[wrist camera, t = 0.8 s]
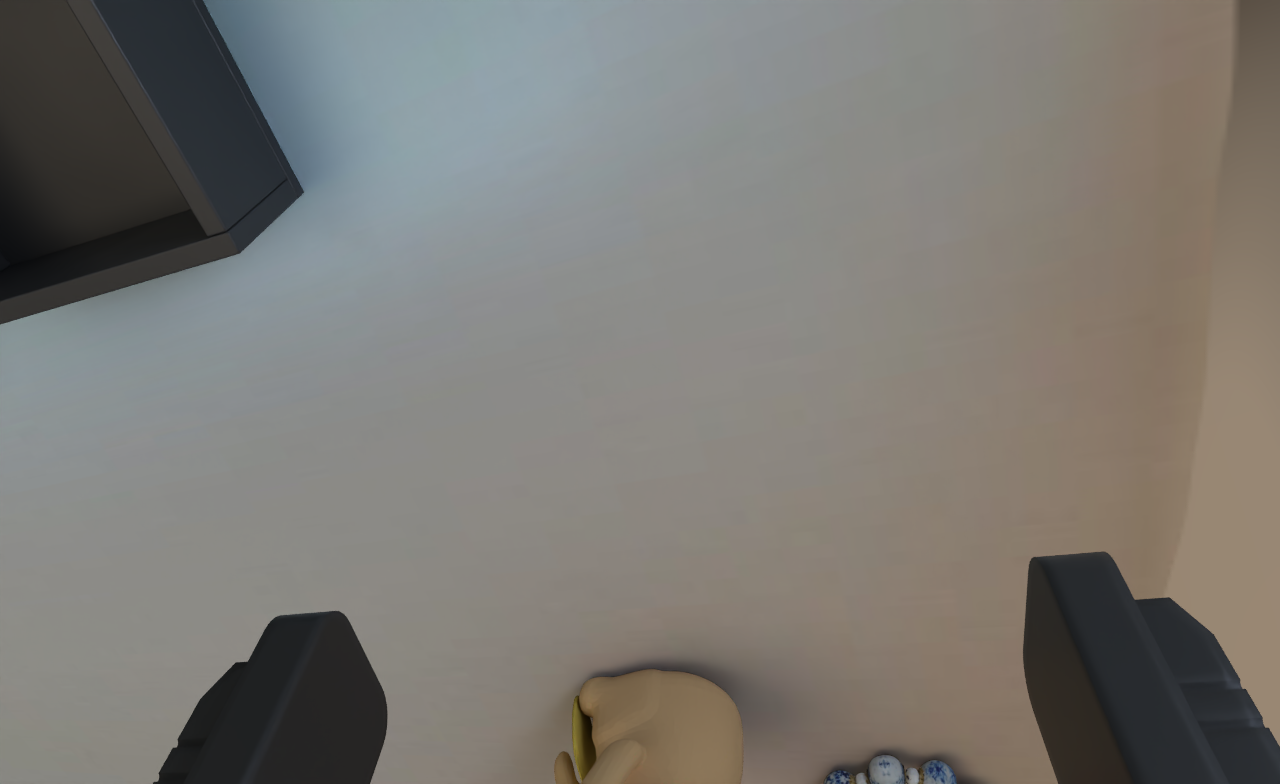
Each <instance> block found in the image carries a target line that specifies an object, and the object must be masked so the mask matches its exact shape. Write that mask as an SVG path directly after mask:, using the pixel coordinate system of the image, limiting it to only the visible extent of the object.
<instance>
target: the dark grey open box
mask: <svg viewBox="0 0 1280 784" xmlns="http://www.w3.org/2000/svg"><path fill="white" fill-rule="evenodd" d="M303 193H304V192H303V190H302V188H301V186H300V184H299V182H298V180H297V178H296V176H295V175H294V173H293V171H292V169H291V167H290V165H289V163H288V161H287V159H286V158H285V156H284V154H283V152H282V150H281V148H280V146H279V144H278V142H277V140H276V139H275V137H274V135H273V133H272V131H271V129H270V127H269V125H268V123H267V122H266V120H265V118H264V116H263V114H262V112H261V110H260V108H259V106H258V104H257V103H256V101H255V99H254V97H253V95H252V93H251V91H250V89H249V87H248V86H247V84H246V82H245V80H244V78H243V76H242V74H241V72H240V70H239V69H238V67H237V65H236V63H235V61H234V59H233V57H232V55H231V53H230V51H229V50H228V48H227V46H226V44H225V42H224V40H223V38H222V36H221V34H220V33H219V31H218V29H217V27H216V25H215V23H214V21H213V19H212V17H211V15H210V14H209V12H208V10H207V8H206V6H205V4H204V2H203V0H0V324H3V323H6V322H10V321H13V320H17V319H20V318H23V317H27V316H30V315H33V314H37V313H40V312H44V311H47V310H50V309H54V308H57V307H60V306H64V305H67V304H71V303H74V302H77V301H81V300H84V299H88V298H91V297H94V296H98V295H101V294H104V293H108V292H111V291H115V290H118V289H121V288H125V287H128V286H131V285H135V284H138V283H142V282H145V281H148V280H152V279H155V278H158V277H162V276H165V275H169V274H172V273H175V272H179V271H182V270H185V269H189V268H192V267H196V266H199V265H202V264H206V263H209V262H213V261H216V260H219V259H223V258H226V257H229V256H233V255H236V254H240V253H241V252H242V251H243V250H244V249H245V248H246V247H247V246H248V245H249V244H250V243H251V242H252V241H253V240H254V239H255V238H256V237H257V236H259V235H260V234H261V233H262V232H263V231H264V230H265V229H266V228H267V227H268V226H269V225H270V224H271V223H272V222H273V221H274V220H275V219H276V218H278V217H279V216H280V215H281V214H282V213H283V212H284V211H285V210H286V209H287V208H288V207H289V206H290V205H291V204H292V203H293V202H294V201H295V200H297V198H299V197H300V196H301V195H302V194H303Z"/></svg>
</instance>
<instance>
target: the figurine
mask: <svg viewBox="0 0 1280 784" xmlns="http://www.w3.org/2000/svg"><path fill="white" fill-rule="evenodd" d="M590 717H592V718H593V726H592V723H591V719H590ZM572 739H573V750H574V756H575V761H576V765H577V768H578V772H579V775H580V779H581V781H582V782H581V784H740V783H741V778H742V771H743V731H742V722H741V718H740V714H739V712H738V709H737V707H736V705H735V703H734V702H733V700H732V699H731V698H730V696H729V695H728V694H727V693H726V692H725V691H724V690H722V689H721V688H720V687H719V686H717V685H715V684H714V683H712V682H711V681H709V680H707V679H704V678H702V677H699V676H697V675H693V674H690V673H686V672H678V671H660V670H656V669H645V670H641V671H636V672H632V673H628V674H624V675H621V676H617V677H596V678H592V679H590V680H588V681H587V682H585V683H584V684H583V686H582V689H581V691H580V695H579V696H578V695H577V696H576V697H575V699H574V704H573V712H572ZM554 774H555V781H556V784H579V783H578V781H577V779H576V776H575V772H574V768H573V763H572V760H571V758H570V756H569V754H568V753H567V752H564V751H563V752H561V753H560V754H559V755H558V757H557V758H556V760H555V767H554Z"/></svg>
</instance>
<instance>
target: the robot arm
mask: <svg viewBox="0 0 1280 784" xmlns="http://www.w3.org/2000/svg"><path fill="white" fill-rule="evenodd" d="M1023 661H1024V671H1025V678H1026V684H1027V689H1028V693H1029V698H1030V701H1031V705H1032V708H1033V711H1034V714H1035V717H1036V720H1037V723H1038V726H1039V729H1040V732H1041V735H1042V737H1043V740H1044V743H1045V746H1046V749H1047V752H1048V755H1049V758H1050V761H1051V764H1052V766H1053V769H1054V772H1055V775H1056V778H1057V781H1058V784H1280V746H1279V745H1278V743H1277V741H1276V740H1275V738H1274V736H1273V735H1272V733H1271V731H1270V729H1269V728H1265V727H1264V724H1263V720H1262V716H1261V714H1260V712H1259V711H1258V709H1257V707H1256V706H1255V704H1254V702H1253V701H1252V699H1251V697H1250V695H1249V694H1248V692H1247V690H1246V689H1242V687H1241V684H1240V678H1239V677H1238V675H1237V673H1236V672H1235V670H1234V669H1233V667H1232V665H1231V663H1230V661H1229V660H1228V658H1227V656H1226V655H1225V653H1224V651H1223V650H1222V648H1221V646H1220V644H1219V643H1218V641H1217V639H1216V638H1215V636H1214V634H1212V633H1211V632H1210V631H1209V630H1208V629H1207V628H1205V627H1204V626H1203V625H1202V624H1200V623H1199V622H1198V621H1197V620H1196V619H1194V618H1193V617H1192V616H1191V615H1190V614H1189V613H1187V612H1186V611H1185V610H1184V609H1183V608H1181V607H1180V606H1179V605H1178V604H1177V603H1175V602H1174V601H1173V600H1172V599H1171V598H1155V599H1141V600H1134V598H1133V596H1132V594H1131V592H1130V590H1129V588H1128V586H1127V584H1126V582H1125V580H1124V579H1123V577H1122V575H1121V573H1120V571H1119V569H1118V567H1117V565H1116V563H1115V562H1114V560H1113V559H1112V557H1111V556H1110V555H1109V554H1108V553H1106V552H1093V553H1080V554H1068V555H1055V556H1043V557H1033V558H1032V559H1031V561H1030V564H1029V570H1028V584H1027V599H1026V614H1025V629H1024V644H1023ZM386 730H387V704H386V698H385V695H384V691H383V689H382V687H381V685H380V683H379V681H378V679H377V677H376V675H375V673H374V671H373V669H372V667H371V664H370V662H369V660H368V658H367V656H366V654H365V652H364V650H363V648H362V646H361V644H360V642H359V640H358V638H357V636H356V634H355V632H354V630H353V628H352V626H351V624H350V622H349V620H348V619H347V617H346V616H345V615H344V614H343V613H341V612H339V611H330V612H317V613H305V614H293V615H280V616H277V617H275V618H274V619H273V620H272V621H271V622H270V623H269V624H268V626H267V627H266V629H265V630H264V632H263V634H262V636H261V638H260V640H259V642H258V644H257V646H256V647H255V649H254V651H253V653H252V655H251V657H250V659H249V661H248V662H238V663H235V664H234V665H233V666H232V667H231V668H230V669H229V670H228V671H227V672H226V673H225V674H224V675H223V676H222V677H221V678H220V679H219V680H218V681H217V682H216V683H215V684H214V685H213V687H212V688H211V689H210V690H209V691H208V692H207V693H206V694H205V695H204V696H203V697H202V698H201V699H200V701H199V702H198V704H197V706H196V708H195V709H194V711H193V713H192V715H191V717H190V718H189V720H188V722H187V724H186V725H185V727H184V729H183V731H182V733H181V734H180V736H179V738H178V746H177V748H173V749H172V750H171V752H170V754H169V756H168V758H167V759H166V761H165V763H164V765H163V766H162V768H161V770H160V772H159V780H158V782H153V784H370V782H371V779H372V776H373V773H374V770H375V767H376V764H377V761H378V759H379V756H380V753H381V750H382V747H383V744H384V740H385V736H386Z"/></svg>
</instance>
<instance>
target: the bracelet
mask: <svg viewBox="0 0 1280 784" xmlns="http://www.w3.org/2000/svg"><path fill="white" fill-rule="evenodd" d="M906 783H907V784H957V782H956V776H955V774H954V772H953V770H952V769H951V768H950V767H949V766H948V765H947V764H945V763H944V762H942V761H937V760H931V761H928V762H926V763H924V764H923V765H922V766H921V768H919V770H918V771H917V770H916V769H915V768H908V769H907V770H906V772H905V769H904V766H903V765H902V764H901V763H900V762H899V761H898V760H897V759H896V758H895V757H893V756H890V755H881V756H877V757H875V758H873V759H872V760H871V762H870V764H869V766H868V769H867V775H866V774H865V773H859V774H857V776H856V777H855V775H852V774H850V773H849V772H846V771H842V770H838V771H834V772H832V773H830V774H829V775H828V776H827V777H826V779H825V781H824V784H906Z"/></svg>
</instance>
